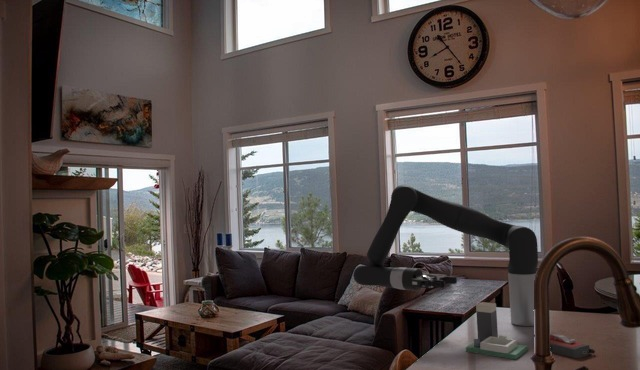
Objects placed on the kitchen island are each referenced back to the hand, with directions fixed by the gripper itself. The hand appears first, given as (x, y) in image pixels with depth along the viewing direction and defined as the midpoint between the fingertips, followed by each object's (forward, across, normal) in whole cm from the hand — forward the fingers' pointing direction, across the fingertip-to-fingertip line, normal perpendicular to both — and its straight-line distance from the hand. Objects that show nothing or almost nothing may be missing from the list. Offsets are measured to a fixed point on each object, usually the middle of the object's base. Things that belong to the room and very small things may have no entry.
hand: (450, 282), depth 159 cm
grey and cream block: (+11, 0, +17) cm, 20 cm away
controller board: (+17, -9, +17) cm, 26 cm away
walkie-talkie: (+31, +2, +17) cm, 35 cm away
